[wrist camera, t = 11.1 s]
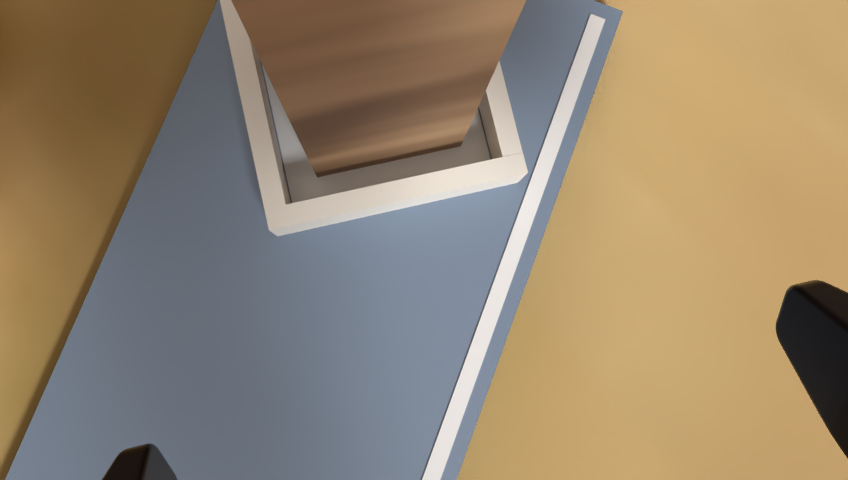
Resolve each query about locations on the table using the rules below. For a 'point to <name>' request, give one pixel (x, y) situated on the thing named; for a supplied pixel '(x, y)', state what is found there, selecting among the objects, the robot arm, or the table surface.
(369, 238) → the blueprint board
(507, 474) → the table surface
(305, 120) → the pillar
